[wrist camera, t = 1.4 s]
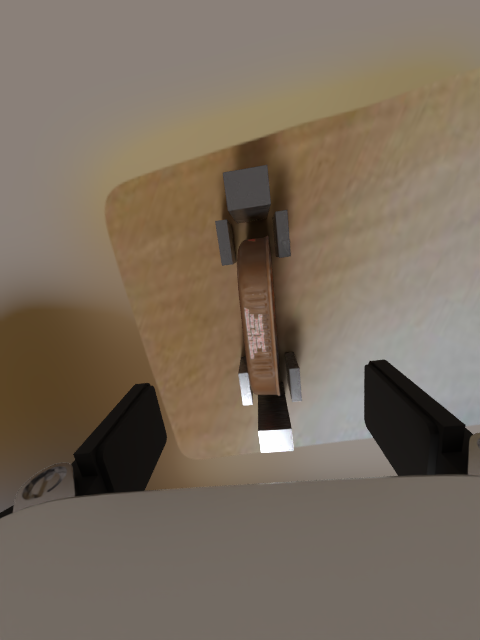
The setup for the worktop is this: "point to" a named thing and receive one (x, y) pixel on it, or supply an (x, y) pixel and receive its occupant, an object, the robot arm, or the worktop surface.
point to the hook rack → (244, 206)
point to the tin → (258, 315)
